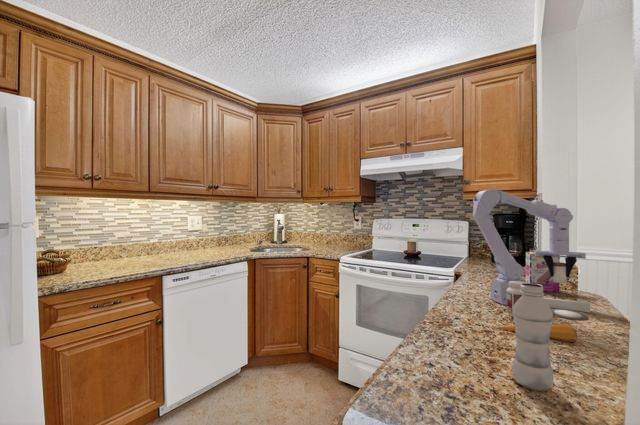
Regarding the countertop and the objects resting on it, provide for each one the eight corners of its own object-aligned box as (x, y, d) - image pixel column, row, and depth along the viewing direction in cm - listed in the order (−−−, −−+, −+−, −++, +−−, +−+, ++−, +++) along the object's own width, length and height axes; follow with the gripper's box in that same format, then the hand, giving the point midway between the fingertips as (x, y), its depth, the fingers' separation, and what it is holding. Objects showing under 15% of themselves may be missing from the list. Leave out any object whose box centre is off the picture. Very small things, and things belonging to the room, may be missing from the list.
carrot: (576, 343, 78) (573, 325, 80) (579, 343, 74) (575, 324, 76) (490, 335, 88) (489, 319, 90) (489, 334, 85) (488, 318, 86)
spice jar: (559, 283, 106) (559, 264, 106) (549, 280, 110) (549, 262, 110) (569, 282, 106) (569, 263, 106) (559, 280, 110) (559, 262, 110)
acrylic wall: (590, 312, 99) (590, 303, 99) (539, 306, 106) (538, 297, 106) (589, 311, 99) (589, 302, 99) (538, 305, 106) (538, 297, 106)
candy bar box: (530, 291, 125) (530, 253, 125) (525, 288, 130) (524, 251, 130) (560, 292, 123) (560, 253, 123) (554, 289, 127) (553, 252, 127)
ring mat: (567, 320, 91) (567, 319, 91) (541, 310, 101) (541, 309, 101) (596, 319, 92) (596, 318, 92) (567, 309, 102) (567, 307, 102)
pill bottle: (532, 316, 96) (532, 282, 96) (524, 319, 93) (523, 285, 93) (511, 310, 101) (511, 279, 101) (503, 314, 98) (502, 281, 98)
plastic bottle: (504, 377, 61) (503, 281, 61) (535, 375, 61) (534, 280, 61) (529, 397, 54) (528, 290, 54) (563, 394, 55) (561, 288, 55)
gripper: (581, 239, 108) (582, 276, 108) (533, 238, 115) (533, 272, 115) (587, 241, 102) (587, 280, 102) (536, 240, 109) (536, 276, 109)
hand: (559, 276), depth 108 cm, fingers closed on spice jar, 4 cm apart
